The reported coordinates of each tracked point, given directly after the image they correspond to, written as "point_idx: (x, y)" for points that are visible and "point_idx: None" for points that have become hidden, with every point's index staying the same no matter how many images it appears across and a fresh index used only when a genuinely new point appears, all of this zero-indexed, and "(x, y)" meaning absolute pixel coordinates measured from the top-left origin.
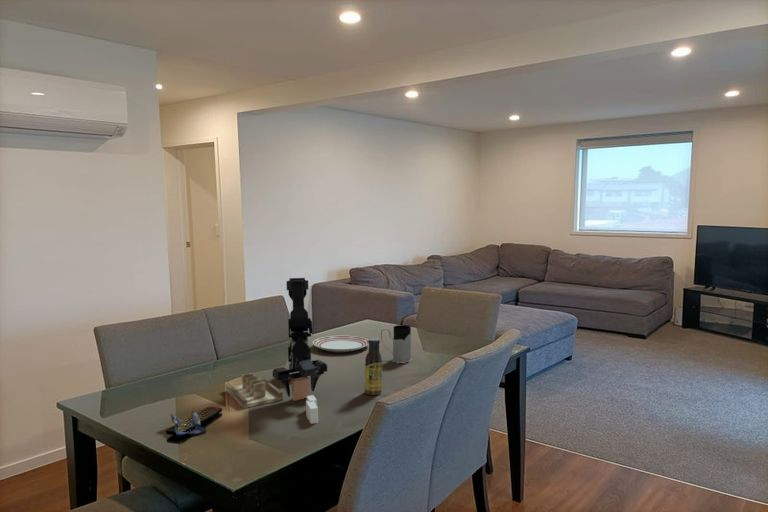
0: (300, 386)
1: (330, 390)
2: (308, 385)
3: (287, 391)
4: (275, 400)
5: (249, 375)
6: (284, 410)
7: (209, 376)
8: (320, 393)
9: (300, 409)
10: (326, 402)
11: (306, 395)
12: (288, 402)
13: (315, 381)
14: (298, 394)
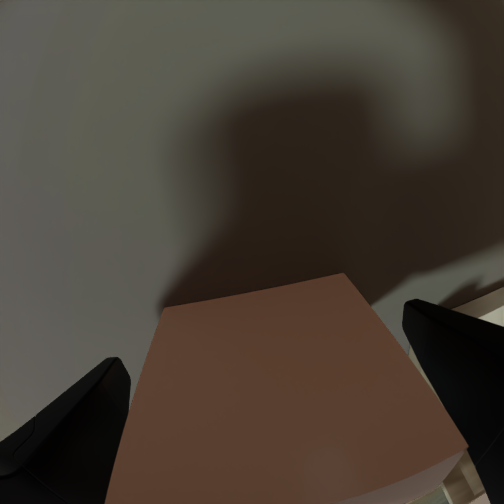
0: (299, 399)
1: (17, 365)
2: (149, 409)
3: (471, 316)
4: (465, 309)
5: (468, 497)
6: (467, 82)
7: (438, 499)
8: (71, 351)
9: (344, 12)
10: (38, 107)
11: (199, 317)
12: (402, 251)
13: (39, 430)
14: (310, 314)
